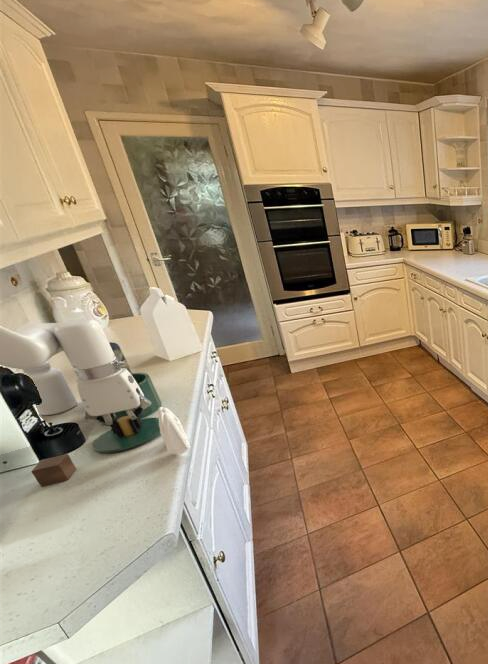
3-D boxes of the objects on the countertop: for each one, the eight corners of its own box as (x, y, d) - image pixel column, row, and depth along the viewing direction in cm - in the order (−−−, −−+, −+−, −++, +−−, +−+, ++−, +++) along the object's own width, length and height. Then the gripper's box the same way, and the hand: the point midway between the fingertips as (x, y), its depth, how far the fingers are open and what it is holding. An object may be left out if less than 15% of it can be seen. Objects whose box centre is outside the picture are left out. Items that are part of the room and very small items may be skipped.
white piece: (193, 453, 96) (177, 415, 92) (172, 462, 94) (153, 423, 89) (185, 433, 104) (170, 397, 100) (165, 441, 101) (148, 404, 97)
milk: (155, 355, 153) (127, 290, 143) (189, 344, 162) (165, 283, 152) (170, 361, 148) (142, 293, 137) (204, 350, 157) (180, 286, 146)
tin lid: (84, 461, 94) (72, 442, 92) (106, 430, 106) (96, 413, 104) (160, 443, 101) (151, 424, 98) (173, 415, 112) (165, 398, 110)
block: (41, 487, 87) (30, 471, 85) (50, 475, 90) (41, 459, 88) (68, 480, 89) (58, 464, 87) (76, 468, 92) (67, 453, 90)
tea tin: (91, 431, 106) (74, 400, 102) (109, 407, 117) (94, 379, 113) (155, 417, 112) (141, 387, 108) (166, 396, 123) (154, 369, 119)
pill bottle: (82, 406, 119) (57, 361, 112) (43, 419, 112) (15, 372, 106) (74, 399, 122) (50, 355, 116) (36, 411, 116) (9, 365, 110)
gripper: (145, 357, 102) (172, 417, 109) (60, 371, 95) (95, 434, 102) (136, 368, 96) (165, 430, 103) (45, 384, 89) (83, 450, 96)
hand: (130, 432), depth 103 cm, fingers closed on tin lid, 2 cm apart
